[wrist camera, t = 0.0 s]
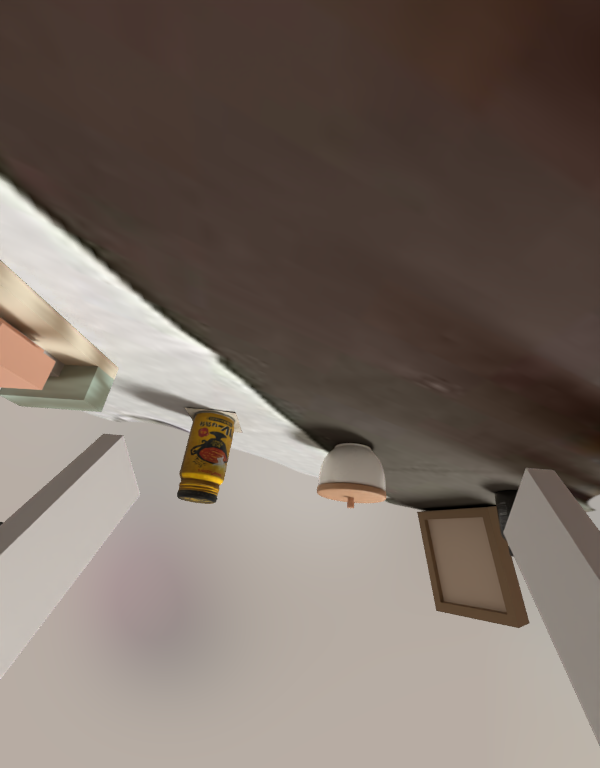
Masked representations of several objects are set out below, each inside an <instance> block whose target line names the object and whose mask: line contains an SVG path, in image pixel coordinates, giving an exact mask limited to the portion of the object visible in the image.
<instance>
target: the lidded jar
mask: <svg viewBox="0 0 600 768" xmlns="http://www.w3.org/2000/svg"><path fill="white" fill-rule="evenodd" d="M317 493H318V494H319V495H320V496H322V497H325V498H328V499H332V500H337V501H343V502H347V507H348V508H354V503H376V502H382V501H384V500H386V492H385V475H384V470H383V466H382V464H381V462H380V460H379V458H378V457H377V456H376V455H375V454H374V453H373V452H372V449H371V448H370V447H368V446H366V445H362V444H356V443H343V444H338V445H336V446H335V449H333V450H332V451H331V452H330V453H329V454H328V455H327V456H326V457H325V459H324V461H323V463H322V466H321V469H320V474H319V483H318V487H317Z"/></svg>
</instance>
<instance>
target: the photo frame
mask: <svg viewBox="0 0 600 768" xmlns="http://www.w3.org/2000/svg"><path fill="white" fill-rule="evenodd" d="M417 513H418V518H419V522H420V528H421V533H422V539H423V544H424V549H425V554H426V559H427V564H428V569H429V575H430V580H431V585H432V590H433V596H434V601H435V606H436V610H437V611H440V612H445V613H450V614H455V615H459V616H464V617H469V618H474V619H478V620H483V621H488V622H493V623H497V624H502V625H507V626H512V627H517V628H520V627H522V626H524V625H526V624H528V623H529V620H528V616H527V612H526V609H525V606H524V601H523V598H522V594H521V590H520V587H519V583H518V579H517V575H516V572H515V568H514V564H513V561H512V557H511V556H510V553H509V548H508V542H507V541H505V540H504V539H503V538H502V536H501V533H500V527H499V520H498V514H497V507H496V506H491V507H476V508H462V509H447V510H433V511H422V512H417Z"/></svg>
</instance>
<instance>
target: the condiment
mask: <svg viewBox="0 0 600 768" xmlns="http://www.w3.org/2000/svg"><path fill="white" fill-rule="evenodd" d="M185 409H186V411H187V412H188V414H189V415H190V417H191V418H192V420H193V424H192V427H191V431H190V435H189V439H188V443H187V446H186V451H185V455H184V459H183V463H182V466H181V470H180V477H181V483H180V485H179V490H178V493H177V497H178V498H179V499H181V500H185V501H190V502H195V503H205V504H211V503H215V502H216V500H217V494H218V492H219V485H221V483H222V482H223V480H224V476H225V472H226V466H227V462H228V457H229V452H230V448H231V444H232V438H233V433H234V431H235V432H240V433H242V430H241V427H240V424H239V421H238V418H237V415H236V413H230V412H223V411H216V410H207V409H192V408H185Z"/></svg>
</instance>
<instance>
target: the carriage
mask: <svg viewBox="0 0 600 768" xmlns="http://www.w3.org/2000/svg"><path fill="white" fill-rule="evenodd" d="M43 352H44V350H43V349H42V348H41V347H39V346H38V345H37V344H35V343H34V342H33V341H31V340H30V339H29V338H27V337H26V336H25V335H23V334H22V333H21V332H19V331H18V330H16V329H15V328H14V327H12V326H11V325H10V324H8V323H7V322H6V321H4V320H3V319H2V318H0V387H2V388H18V389H33V390H42V389H43V387H44V385H45V383H46V381H47V379H48V377H49V375H50V373H51V371H52V369H53V367H54V365H55V363H56V362H55V361H54V360H53V359H51V358H50V357H49V356H47V355H46V354H45V353H43Z"/></svg>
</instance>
